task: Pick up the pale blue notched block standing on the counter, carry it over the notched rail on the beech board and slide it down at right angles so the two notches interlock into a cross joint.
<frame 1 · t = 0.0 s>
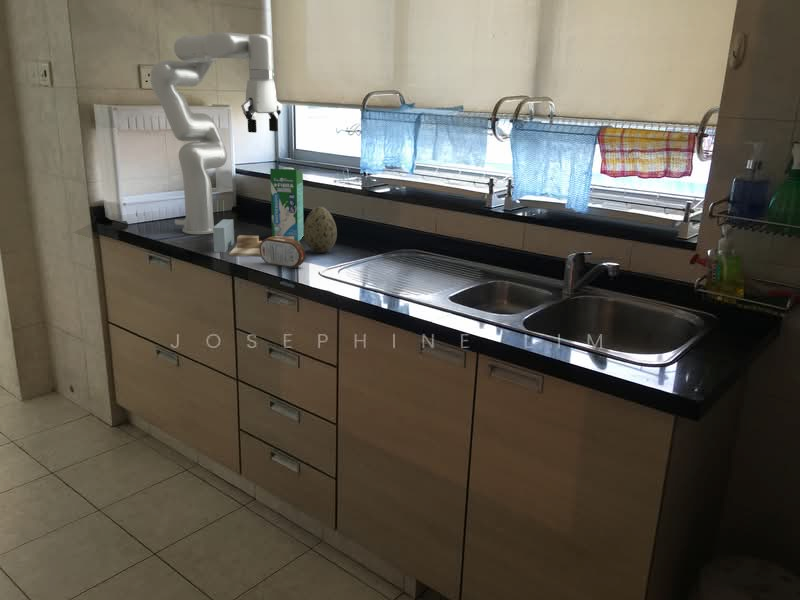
hand: (263, 131, 221), 37 cm above the worktop, tool pointing down, fingers open, 9 cm apart
decorative egg: (320, 252, 223), on the worktop
tin: (281, 266, 206), on the worktop
pale blue notched block: (224, 247, 226), on the worktop
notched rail: (266, 249, 225), on the worktop
milk carton: (288, 239, 241), on the worktop
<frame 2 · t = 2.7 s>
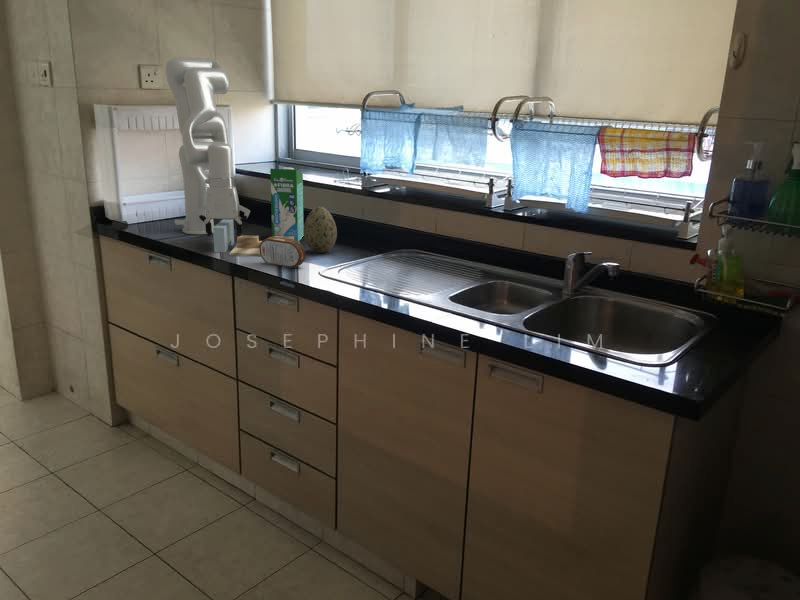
hand: (224, 235, 225), 4 cm above the worktop, tool pointing down, fingers open, 9 cm apart
nothing on the worktop moved.
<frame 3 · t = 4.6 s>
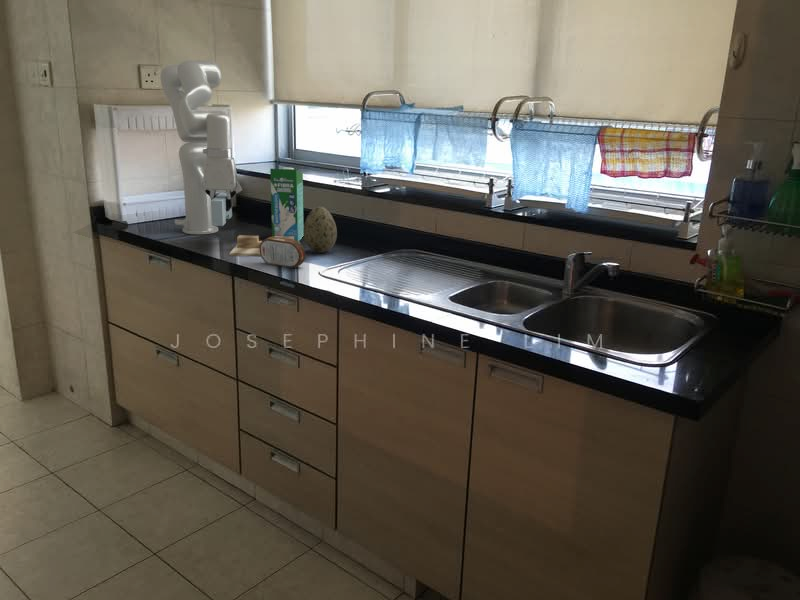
hand: (221, 209, 223), 12 cm above the worktop, tool pointing down, fingers closed on pale blue notched block, 3 cm apart
pale blue notched block: (222, 220, 225), point 9 cm above the worktop, touching gripper
everything else where it was.
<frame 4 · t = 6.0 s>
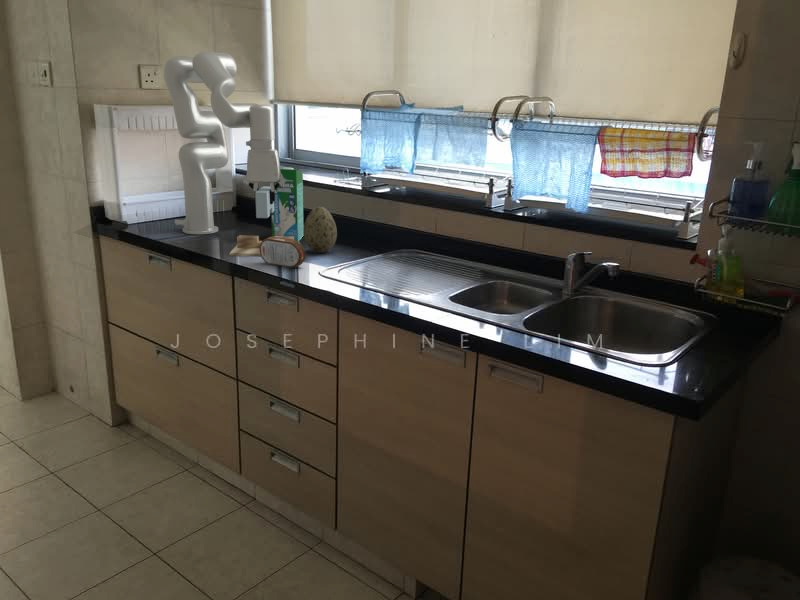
hand: (265, 203, 220), 15 cm above the worktop, tool pointing down, fingers closed on pale blue notched block, 3 cm apart
pale blue notched block: (265, 214, 221), point 12 cm above the worktop, touching gripper
everything else where it was.
when the fingers open (5 cm above the worktop, at t = 7.6 s): pale blue notched block stays where it is, resting on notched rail.
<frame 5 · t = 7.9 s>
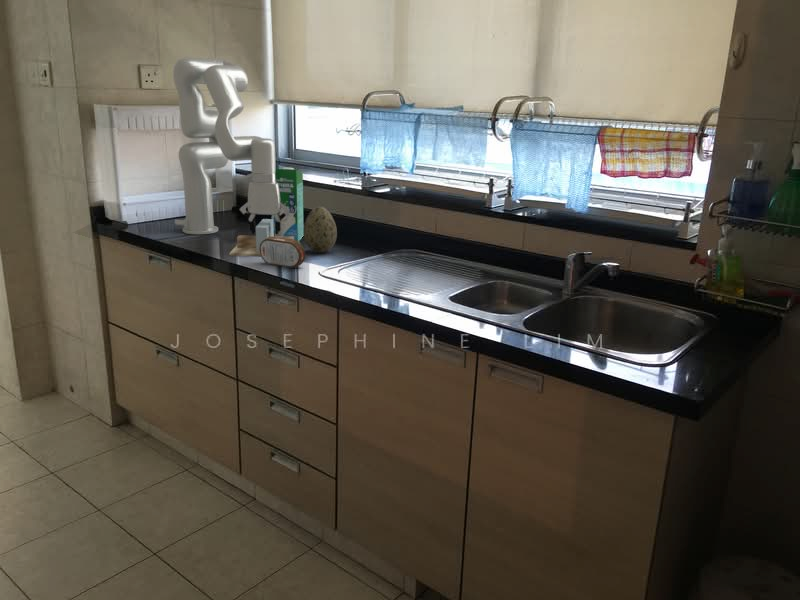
hand: (265, 232, 223), 6 cm above the worktop, tool pointing down, fingers open, 7 cm apart
pale blue notched block: (265, 247, 225), point 1 cm above the worktop, touching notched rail
everything else where it was.
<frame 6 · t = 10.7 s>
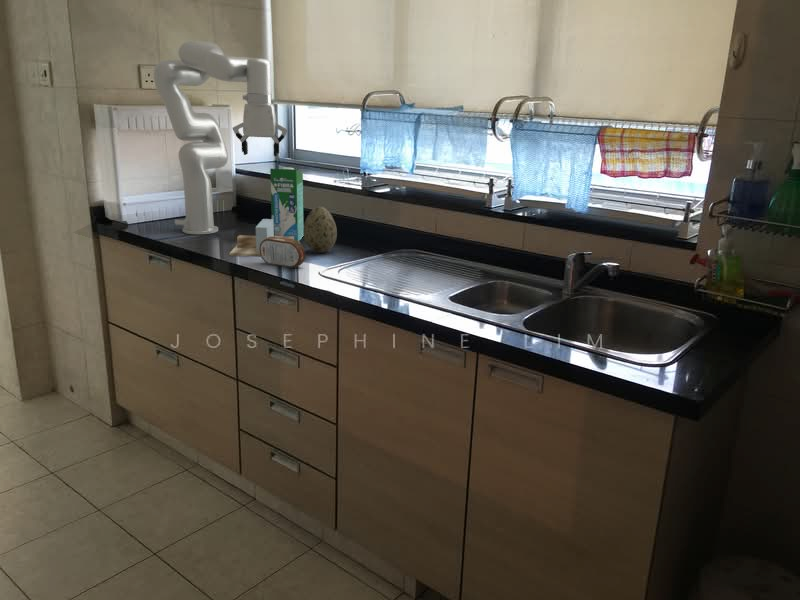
hand: (260, 155, 220), 30 cm above the worktop, tool pointing down, fingers open, 9 cm apart
nothing on the worktop moved.
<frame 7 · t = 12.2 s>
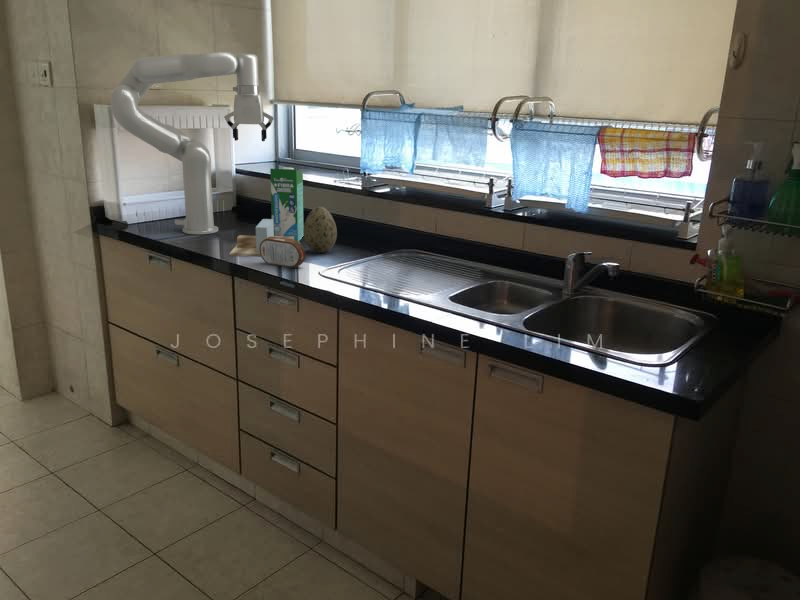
hand: (249, 140, 245), 32 cm above the worktop, tool pointing down, fingers open, 9 cm apart
nothing on the worktop moved.
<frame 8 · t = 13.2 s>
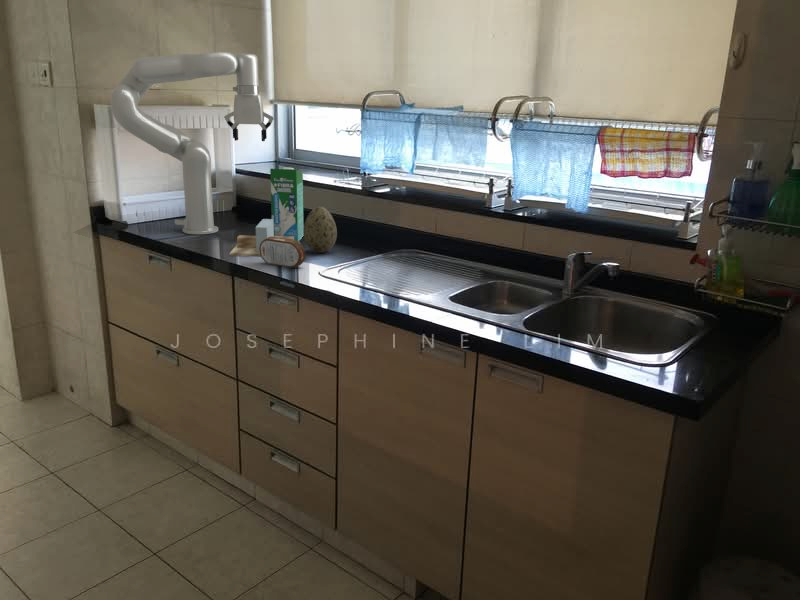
hand: (249, 140, 245), 32 cm above the worktop, tool pointing down, fingers open, 9 cm apart
nothing on the worktop moved.
at the end: pale blue notched block 0.2 cm off-centre on the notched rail, point 0.8 cm above the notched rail's base; pale blue notched block tilted 0° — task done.
